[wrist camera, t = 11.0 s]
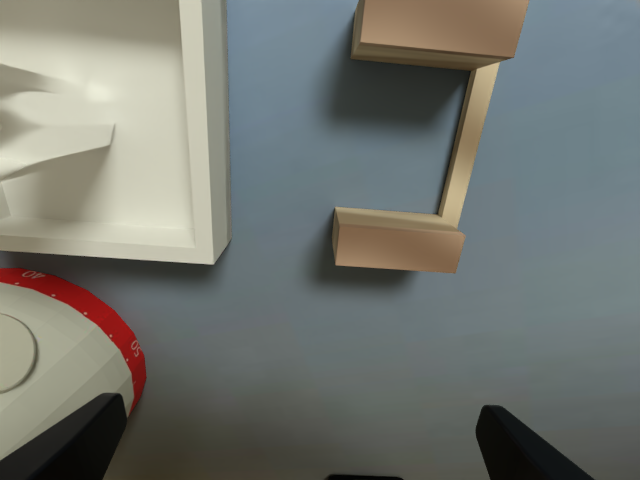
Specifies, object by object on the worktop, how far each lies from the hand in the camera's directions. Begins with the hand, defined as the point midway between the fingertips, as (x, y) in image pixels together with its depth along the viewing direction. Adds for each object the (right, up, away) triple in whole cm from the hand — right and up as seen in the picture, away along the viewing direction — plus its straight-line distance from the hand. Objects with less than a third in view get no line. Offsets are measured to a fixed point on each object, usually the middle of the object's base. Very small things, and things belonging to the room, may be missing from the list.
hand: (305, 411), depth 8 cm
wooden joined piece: (+5, +9, +9) cm, 14 cm away
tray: (-10, +10, +8) cm, 17 cm away
